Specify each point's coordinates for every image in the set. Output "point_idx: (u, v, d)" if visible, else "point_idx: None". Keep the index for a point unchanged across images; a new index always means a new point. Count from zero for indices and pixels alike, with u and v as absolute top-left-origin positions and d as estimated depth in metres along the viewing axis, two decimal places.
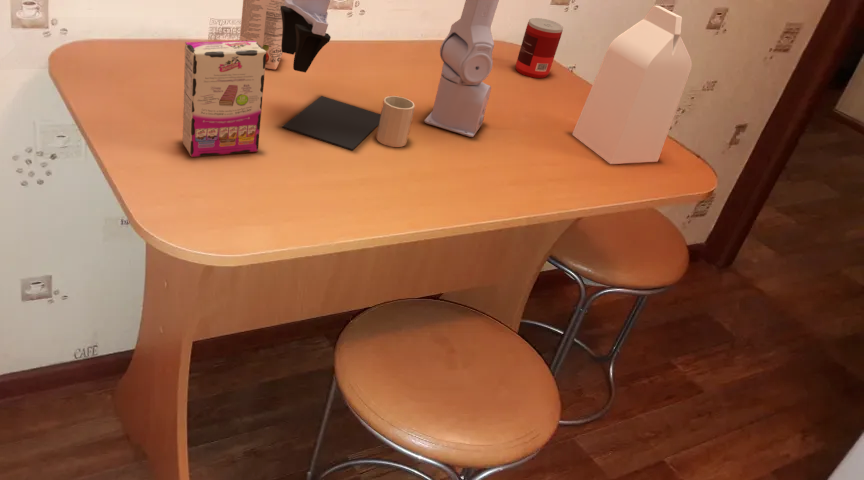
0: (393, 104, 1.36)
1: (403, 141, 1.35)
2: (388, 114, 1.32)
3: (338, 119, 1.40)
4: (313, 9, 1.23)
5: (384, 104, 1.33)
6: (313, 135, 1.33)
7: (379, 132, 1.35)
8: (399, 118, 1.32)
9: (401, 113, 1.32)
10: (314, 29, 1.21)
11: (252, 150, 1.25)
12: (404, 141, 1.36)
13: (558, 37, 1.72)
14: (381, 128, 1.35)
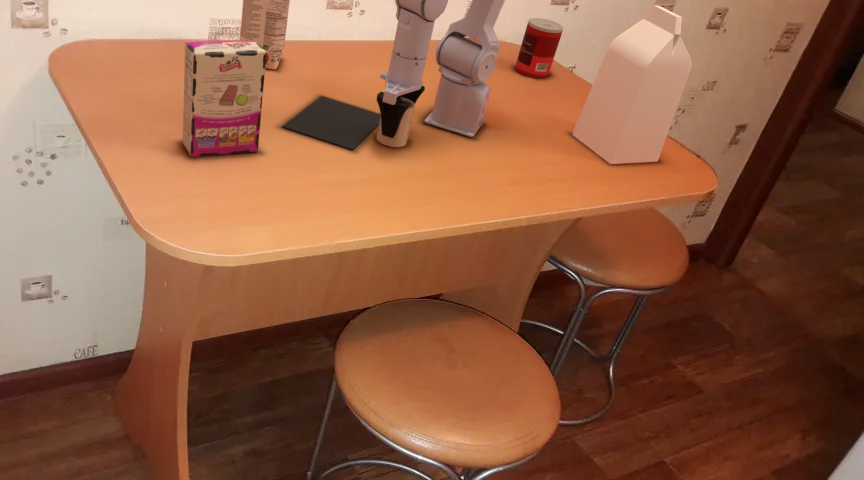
0: None
1: (403, 141, 1.35)
2: None
3: (338, 119, 1.40)
4: (397, 80, 1.28)
5: None
6: (313, 135, 1.33)
7: (379, 132, 1.35)
8: None
9: None
10: (383, 98, 1.26)
11: (252, 150, 1.25)
12: (404, 141, 1.36)
13: (558, 37, 1.72)
14: None
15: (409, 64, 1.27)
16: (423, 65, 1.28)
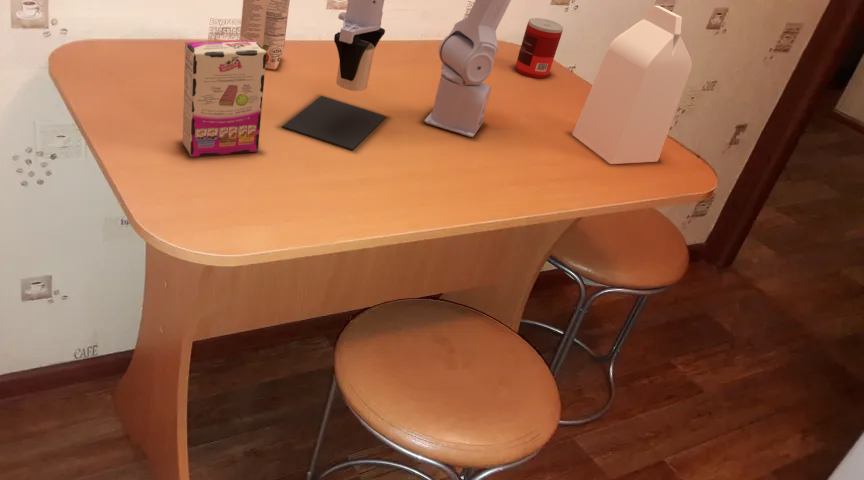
0: None
1: (363, 85, 1.33)
2: None
3: (338, 119, 1.40)
4: (355, 19, 1.26)
5: None
6: (313, 135, 1.33)
7: (338, 76, 1.33)
8: None
9: None
10: (340, 36, 1.24)
11: (252, 150, 1.25)
12: (364, 85, 1.33)
13: (558, 37, 1.72)
14: None
15: (366, 2, 1.24)
16: (381, 4, 1.25)
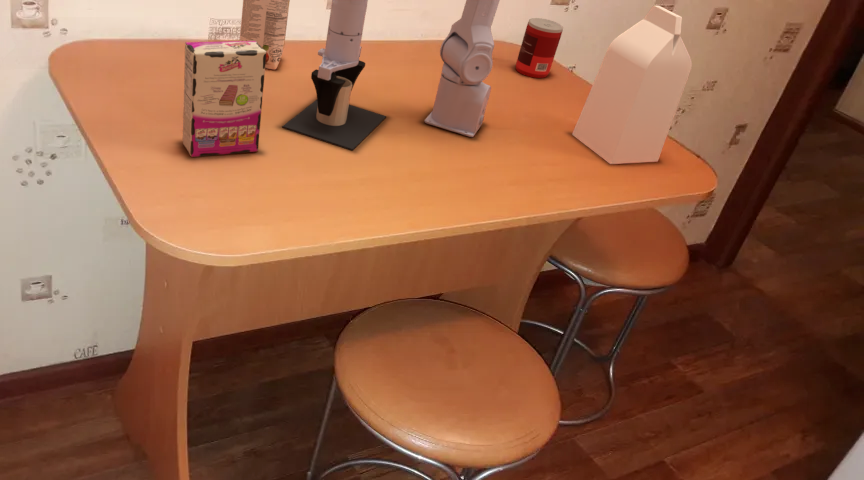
0: None
1: (342, 120, 1.38)
2: None
3: None
4: (333, 56, 1.30)
5: None
6: (313, 135, 1.33)
7: (318, 111, 1.37)
8: None
9: None
10: (318, 73, 1.28)
11: (252, 150, 1.25)
12: (343, 120, 1.38)
13: (558, 37, 1.72)
14: None
15: (344, 40, 1.29)
16: (358, 41, 1.30)
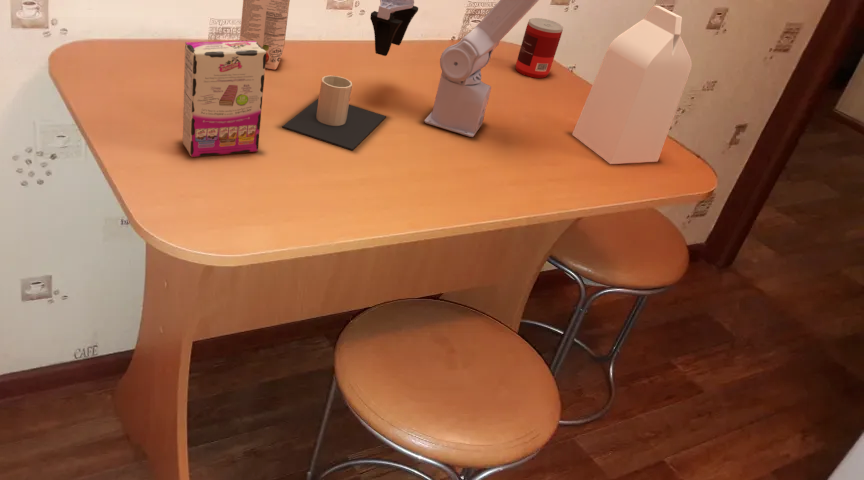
0: (332, 83, 1.38)
1: (342, 120, 1.38)
2: (325, 93, 1.35)
3: None
4: None
5: (322, 83, 1.35)
6: (313, 135, 1.33)
7: (318, 111, 1.37)
8: (336, 97, 1.34)
9: (338, 92, 1.34)
10: (378, 13, 1.37)
11: (252, 150, 1.25)
12: (343, 120, 1.38)
13: (558, 37, 1.72)
14: (320, 107, 1.37)
15: None
16: None
